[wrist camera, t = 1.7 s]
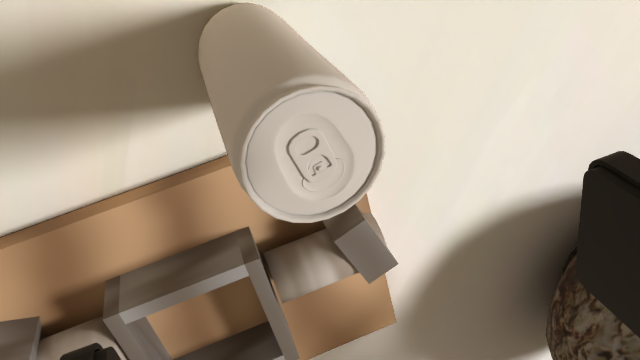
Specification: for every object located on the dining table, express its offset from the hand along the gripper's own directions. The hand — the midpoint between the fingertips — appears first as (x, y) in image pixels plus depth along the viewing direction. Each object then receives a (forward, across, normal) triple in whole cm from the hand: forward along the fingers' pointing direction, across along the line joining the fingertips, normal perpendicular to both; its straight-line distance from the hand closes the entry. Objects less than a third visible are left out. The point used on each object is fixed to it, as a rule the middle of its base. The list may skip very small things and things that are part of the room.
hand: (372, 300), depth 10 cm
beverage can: (+19, -1, 0) cm, 19 cm away
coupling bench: (+18, +6, +14) cm, 24 cm away
